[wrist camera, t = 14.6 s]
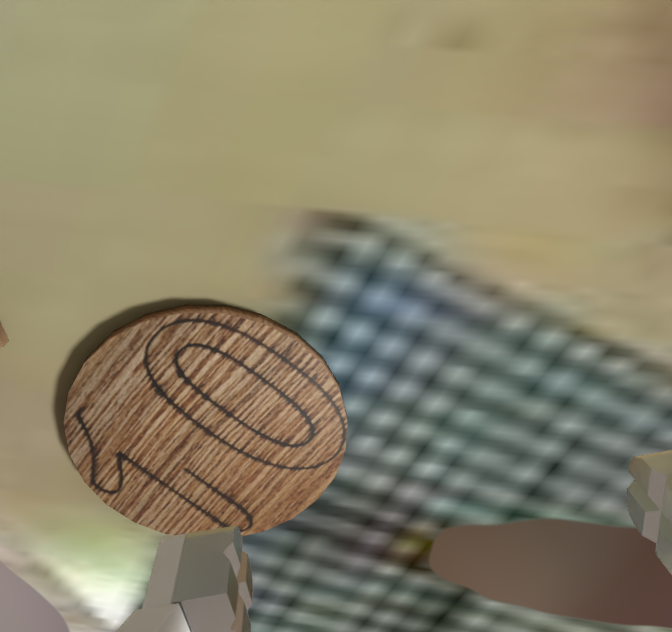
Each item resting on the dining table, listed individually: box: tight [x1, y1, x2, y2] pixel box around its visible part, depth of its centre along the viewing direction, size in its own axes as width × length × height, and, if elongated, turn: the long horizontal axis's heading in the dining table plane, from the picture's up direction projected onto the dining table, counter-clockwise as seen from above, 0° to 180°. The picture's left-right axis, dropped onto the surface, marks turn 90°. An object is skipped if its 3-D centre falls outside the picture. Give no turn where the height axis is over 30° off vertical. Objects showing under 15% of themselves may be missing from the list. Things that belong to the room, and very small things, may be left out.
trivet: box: [64, 305, 348, 536], centre depth 50 cm, size 25×25×2 cm
